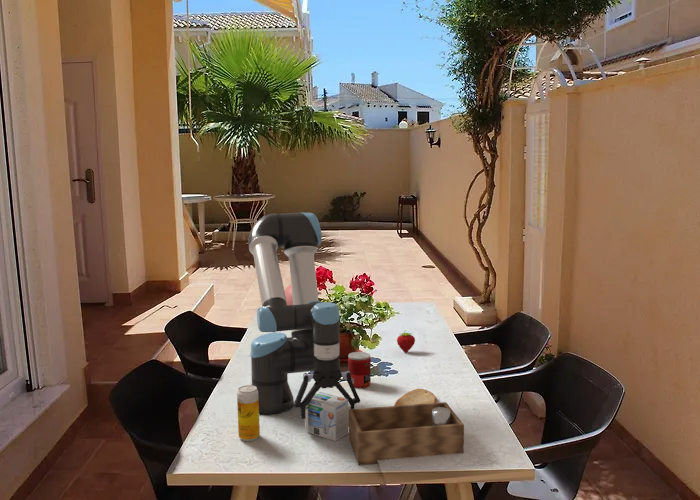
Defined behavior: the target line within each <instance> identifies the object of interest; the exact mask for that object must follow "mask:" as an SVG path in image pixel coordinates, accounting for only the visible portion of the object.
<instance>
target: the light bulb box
mask: <svg viewBox="0 0 700 500" xmlns="http://www.w3.org/2000/svg"><path fill="white" fill-rule="evenodd" d="M348 403H349V402H348V399H346V398H345V397H344V396H343V397H342V396H339V395H334V394H332V393H331V394H330V393H326V392H322V391H318V392H316V394H315V395H314V396H313V398H312V399H311V401H310V402H309V403H308V405H307V407H308V431H307V433H309V434H312V435H314V436H319V437H322V438H324V439H327V440H331V441H334V442H337V441H338V440H340V439H341V438H343V437H344V436H346V435H347V434H348V435H349V427H348Z"/></svg>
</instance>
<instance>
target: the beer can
mask: <svg viewBox="0 0 700 500" xmlns="http://www.w3.org/2000/svg"><path fill="white" fill-rule="evenodd" d="M236 397H237V398H236V401H237V427H238V428H237V430H238V438H240V440H241V441H243V442H254V441H256V440H257V439H258V438H259V436H260V413H259V397H258V390H257V387H256V386H252V384H248V385H247V384H246V385H242V386H240V387H238V389H237V392H236Z"/></svg>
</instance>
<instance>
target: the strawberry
mask: <svg viewBox="0 0 700 500" xmlns="http://www.w3.org/2000/svg"><path fill="white" fill-rule="evenodd" d="M412 334H413V333H412V332H410V333H409V332H406V331H403V332H402V333H400V334H399V335H398V336H397V338H396V341H397V345H398V347H399V349H400V350H402V351H403V353H408V352H409V351H410V350H411V349H412V348H413V346H414V345H415V342H416V339H415V336H414V335H412Z"/></svg>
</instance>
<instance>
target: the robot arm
mask: <svg viewBox="0 0 700 500" xmlns="http://www.w3.org/2000/svg"><path fill="white" fill-rule="evenodd" d="M249 232H250V233H249V236H248V239H247V240H248V244H247V245H248V250H249V252H250V254H251V255H252V256H253V260H254V267H255V271H256V272H255V273H256V278H257V284H258V289H259V296H260V302H261V306H260V307H258V308H257V311H256V321H257V329H258V331H260V333H265V334H262V335H259V336H257V337H256V338H254V339H253V340H252V341H251V344H250V353H249V355H250V361H251V362H250V363H251V364H250V365H251V369H250V370H251V385H252V386H256V387H257V390H258V397H259V415H260V414H261V415H273V414H279V413H284V412H286V411H288V410H290V409H291V408H293V406H295V408H299V409H300V417H301V420H304V429H305V431H307V432H308V407H307V405H308V403H309V402H310V401H311V399H312V398H313V396H314V395H315V394H317V393H318V392H319V390H320V389H321V388H322V389H332V388H336V389H337V390H338V392H340V394H341V395H342V396H343V398H346V399H348V428H349V409H355V406H356V404H360V403H361V399H360V397H359V393H358V392H357V390H356V388H355V387H354V385H353V383H352V381H351V374H350V371H349V370H348V369H346V370H345V371H343V372H342V371H341V357H340V350H341V349H340V317H341V315H340V307H339V305H338V303H334V302H330V301H329V302H328V301H327V302H324V301H323V302H322V301H320V300H319V295H318V292H319V291H318V283H317V275H316V274H317V273H316V264H315V263H316V262H315V254H316V253H317V252H318V247H319V246H320V245H321V244H322V242H323V241H322V239H323V238H322V230H321V225H320V222H319V219H318V217H317V216H316V214H314V213H313V212H303V211H302V212H293V213H292V212H287V213H286V212H285V213H269V214H268V213H267V215H264V216H262V217H260V218H259V219H258V220H257V221H256V222H255V223H254V225H253V226H252V228H251V229H250V231H249ZM279 248H283V253H284V255H285V256H286V257H288V262H289V263H288V265H289V274H290V285H291V286H292V297H293V305H287V301H286V296H285V288H284V282H283V277H282V273H281V269H280V263H279V259H278V253H277V250H278V249H279ZM317 291H318V292H317ZM285 331H286V332H287V331H291V332H290V334H291V335H290V336H289V337H288V336H287V334H285V333H284V332H285ZM307 372H312V373H310V374H309V373H307ZM295 373H303V376H302V377H303V379H302V382H301V385H300V387H299V389H298V393H297V395H296V397H295V400H294V396H293V392H292V389H291V387H290V384H289V379H288V374H295ZM342 378H343V380H345V381H347V384H348V386H349V388H350V391H351V393H352V395H353V397H354V398H352V397H351V395H350V394H349V393H348V392H347V390H346V389H345V387H344V386H343V385H342V384H341V383H340V382H339V381H340V380H341V379H342ZM312 379H313V380H314V383H313V385H312V387H310V390H309V391H308V392H307V394H306V395H305V393H306V390H307V387H308V385H309V383H310V382H311V380H312ZM304 395H305V397H304Z"/></svg>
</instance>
